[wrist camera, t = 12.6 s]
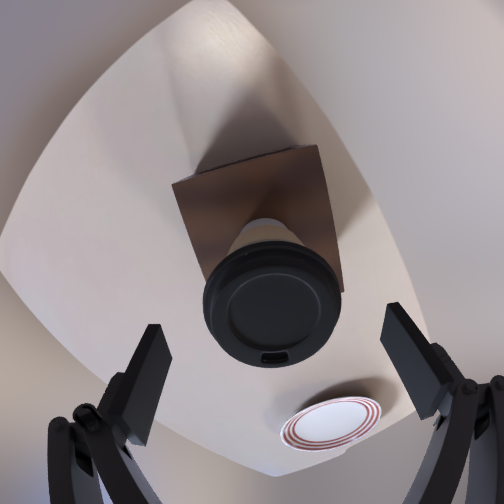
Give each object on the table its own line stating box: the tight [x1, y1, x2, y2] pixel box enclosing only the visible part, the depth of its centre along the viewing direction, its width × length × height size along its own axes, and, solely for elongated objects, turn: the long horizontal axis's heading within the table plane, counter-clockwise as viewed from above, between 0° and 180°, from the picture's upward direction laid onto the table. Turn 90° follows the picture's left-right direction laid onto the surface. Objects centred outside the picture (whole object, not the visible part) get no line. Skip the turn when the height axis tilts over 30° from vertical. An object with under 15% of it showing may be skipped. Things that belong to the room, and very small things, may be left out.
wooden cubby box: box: [172, 145, 344, 293], centre depth 36 cm, size 18×16×12 cm
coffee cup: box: [203, 218, 341, 368], centre depth 23 cm, size 9×9×15 cm
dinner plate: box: [281, 396, 382, 451], centre depth 59 cm, size 28×27×3 cm
